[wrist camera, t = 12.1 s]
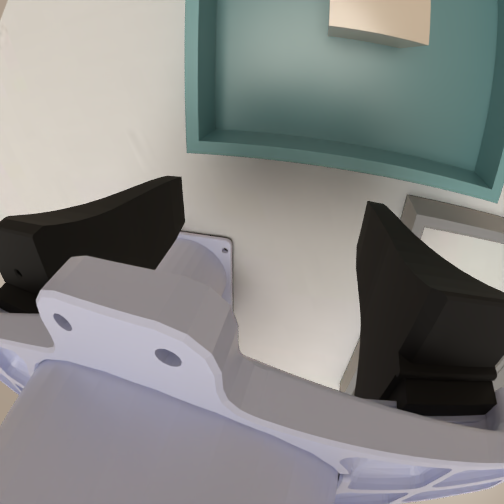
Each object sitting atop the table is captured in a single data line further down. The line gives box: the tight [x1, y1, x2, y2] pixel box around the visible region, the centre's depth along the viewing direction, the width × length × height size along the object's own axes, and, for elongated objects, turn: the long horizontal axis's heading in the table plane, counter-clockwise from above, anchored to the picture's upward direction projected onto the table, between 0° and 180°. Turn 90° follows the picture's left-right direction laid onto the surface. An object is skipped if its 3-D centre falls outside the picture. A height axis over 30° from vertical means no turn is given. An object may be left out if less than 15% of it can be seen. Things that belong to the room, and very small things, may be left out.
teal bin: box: [185, 0, 504, 203], centre depth 13 cm, size 20×20×4 cm
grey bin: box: [339, 195, 504, 396], centre depth 25 cm, size 24×17×3 cm
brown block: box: [328, 0, 431, 48], centre depth 11 cm, size 4×4×6 cm
